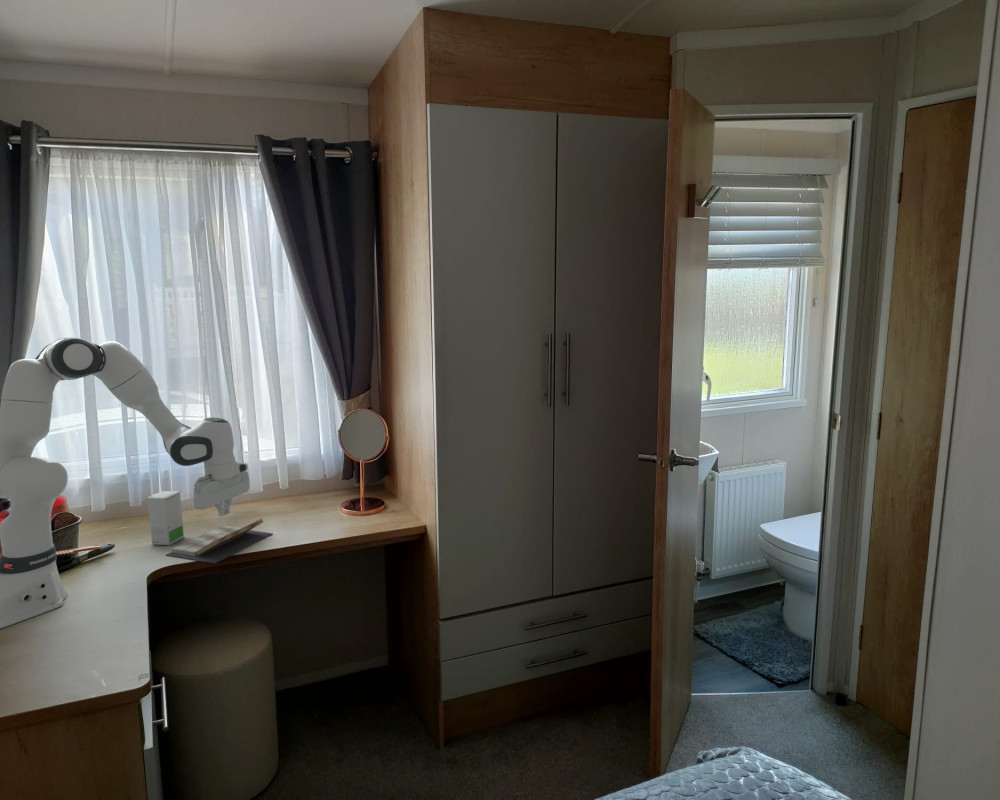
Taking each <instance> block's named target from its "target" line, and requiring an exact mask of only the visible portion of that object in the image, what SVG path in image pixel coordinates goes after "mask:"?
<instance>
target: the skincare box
mask: <svg viewBox="0 0 1000 800" xmlns="http://www.w3.org/2000/svg"><path fill="white" fill-rule="evenodd" d="M146 499H147V500H146V501H147V506H148V507H147V509H148V519H149V526H150V538H151V545H157V546H170V545H172V544H174V543H176V542H178V541H179V540H182V539H183V538H185V532H184V523H183V513H182V503H181V491H179V490H177V491H176V490H175V491H173V490H172V491H170V490H162V491H160V492H157V493H154V494H152V495H149V496H147V498H146Z"/></svg>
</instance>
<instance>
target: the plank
mask: <svg viewBox="0 0 1000 800" xmlns="http://www.w3.org/2000/svg"><path fill="white" fill-rule="evenodd" d="M263 523H264V521H263V519H262V518H261V519H259V520H256V521H254V522H252V523H250V524H248V525H245V526H243V527H240V528H241V529H239V530H237V531H235V532H232V533H230V534H228V535H226V536H224V537H222V538H220V539H217V540H215V541H213V542H211V543H210V544H208V545H206V546H205V547H203V548H201V549H200V550H198V551H196V552H195V553H196V555H199V554H201V553H204V552H206V551H208V550H210V549H212V548H214V547H216V546H218V545H220V544H222V543H224V542H226V541H229V540H231V539H233V538H235V537H237V536H239V535H241V534H243V533H245V532H247V531H249V530H253V529H254V528H256V527H257V526H259V525H262V524H263Z"/></svg>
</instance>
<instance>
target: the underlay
mask: <svg viewBox="0 0 1000 800" xmlns="http://www.w3.org/2000/svg"><path fill="white" fill-rule="evenodd" d="M272 535H274V534H273V533H271V532H267V531H266V532H264V531H259V530H253V529H251V530H249V531H247V532H245V533H243V534H241V535H239V536H237V537H235V538H233V539H231V540H229V541H226V542H224V543H222V544H220V545H218V546H216V547H214V548H212V549H210V550H208V551H206V552H204V553H201V554H199V555H196V556H190V555H184V554H178V553H172V551H169V552H168V553H166V554H165V556H166V557H167V556H168V557H173V558H177V557H178V558H179V559H184V560H189V561H197V562H202V563H208V564H212V565H213V564H214V565H215V564H217V563H219V562H221V561H223V560H225V559H228V557H231V556H232V555H235V554H237V553H239V552H241V551H243V550H244V549H246V548H248V547H251V546H253V545H254V544H257V543H258V542H260V541H262V540H264V539H267V538H269V537H270V536H272Z"/></svg>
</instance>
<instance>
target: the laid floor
mask: <svg viewBox="0 0 1000 800" xmlns="http://www.w3.org/2000/svg"><path fill="white" fill-rule="evenodd" d="M241 528H242V527H237V526H236V527H235V526H230V525H229V526H228V525H221V526H220V527H217V528H215V529H213V530H210V531H208V532H207V533H204V534H202V535H200V536H197V537H195V538H193V539H191V540H188V541H186V542H184V543H181V544H179V545H177V546H175V547H173V548H171V552H172V553H178V554H184V555H190V556H196V553H195V552H196V551H198V550H200V549H201V548H203V547H205V546H206V545H208V544H210V543H211V542H213V541H215V540H217V539H220V538H222V537H224V536H226V535H228V534H230V533H232V532H235V531H237V530H239V529H241Z"/></svg>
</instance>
